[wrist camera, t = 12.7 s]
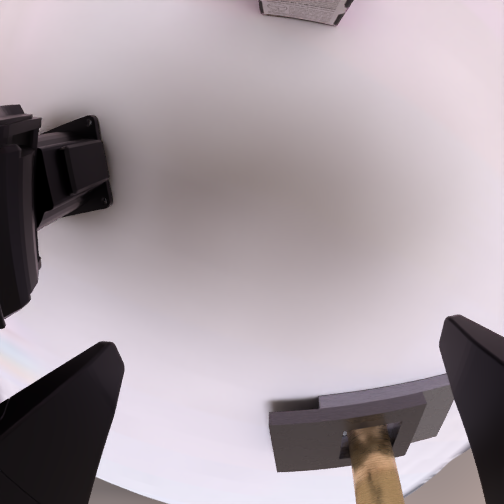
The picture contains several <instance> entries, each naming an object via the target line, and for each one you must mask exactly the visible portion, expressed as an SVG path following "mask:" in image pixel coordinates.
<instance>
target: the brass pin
mask: <svg viewBox="0 0 504 504" xmlns="http://www.w3.org/2000/svg"><path fill="white" fill-rule="evenodd" d="M347 438H348V444H349V451H350V458H351V465H352V473H353V480H354V488H355V497H356V504H404V499H403V494H402V489H401V484H400V480H399V475H398V471H397V466H396V462H395V458H394V453H393V449H392V445H391V441H390V437H389V433H388V429H387V426H386V424H385V425H380V426H374V427H369V428H362V429H356V430H349V431H347Z"/></svg>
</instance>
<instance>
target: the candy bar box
mask: <svg viewBox="0 0 504 504" xmlns="http://www.w3.org/2000/svg"><path fill="white" fill-rule="evenodd" d="M352 2H353V0H259V6H260V11H261V14H263V15H271V16H277V17H292V18H299V19H304V20H309V21H315V22H319V23H325V24H330V25H334V26H337V25H338V23H339V22H340V20H341V18H342V17H343V15H344V14H345V12H346V11H347V9H348V8H349V6H350V5H351V3H352Z"/></svg>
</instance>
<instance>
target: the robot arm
mask: <svg viewBox="0 0 504 504" xmlns="http://www.w3.org/2000/svg"><path fill="white" fill-rule="evenodd" d="M41 120H42V118H37V117H32V114H25V113H24V112H23V110H22V108H21V106H20V105H5V106H0V329H3V328H5V326H6V324H5V321H4V319H6V318H7V317H9V316H11V315H12V314H14V313H16V312H17V311H19V310H21V309H22V308H23V307H24V306H25V305H26V304H28V303H29V302H30V300H31V296H30V294H31V293H32V291H33V289H34V288H35V286H36V284H37V283H38V275H39V270H40V268H41V258H40V257H39V251H38V239H37V231H38V230H40V229H42V228H43V227H45V226H47V225H48V224H50V223H52V222H54V221H55V220H57V219H59V218H61V217H66V216H70V215H75V214H80V213H85V212H90V211H95V210H100V209H105V208H107V207H109V206H111V204H112V202H113V199H112V194H111V190H110V185H109V181H108V178H109V174H108V169H107V164H106V158H105V153H104V148H103V142H102V141H101V139H100V133H99V127H98V120H97V118H96V117H95V116H93V115H89V116H85V117H82V118H80V119H77V120H74V121H72V122H69V123H67V124H64V125H62V126H59V127H57V128H54V129H52V130H49V131H47V132H45V133H42V134H40V135H38V132H39V128H41ZM89 120H91V121H92V123H91V125H89ZM104 198H105V199H106V200H107V203H105V202H104ZM439 348H440V352H441V355H442V359H443V362H444V365H445V369H446V372H447V376H448V380H449V383H450V387H451V391H452V394H453V397H454V400H455V403H456V405H457V408H458V411H459V414H460V416H461V419H462V422H463V425H464V428H465V431H466V434H467V437H468V440H469V443H470V446H471V449H472V453H473V456H474V459H475V463H476V466H477V470H478V473H479V477H480V481H481V485H482V489H483V493H484V497H485V502H486V504H504V337H502V336H501V335H499V334H497V333H495V332H493V331H491V330H489V329H487V328H485V327H483V326H481V325H479V324H477V323H475V322H473V321H472V320H470V319H468V318H466V317H464V316H462V315H453V316H448V317H447V318H446V319H445V321H444V325H443V329H442V333H441V337H440V341H439ZM123 375H124V363H123V361H122V359H121V356H120V354H119V352H118V350H117V348H116V346H115V344H114V343H113V342H105V341H101V342H98V343H97V344H95V345H94V346H92V347H90V348H89V349H87V350H85V351H84V352H82V353H81V354H79V355H77V356H76V357H74V358H73V359H71V360H69V361H68V362H66V363H65V364H63V365H61V366H60V367H58V368H56V369H55V370H53V371H52V372H50V373H48V374H47V375H45V376H44V377H42V378H40V379H39V380H37V381H36V382H34V383H32V384H31V385H29V386H28V387H26V388H24V389H23V390H21V391H20V392H18V393H16V394H15V395H13V396H12V397H10V399H7V400H5V401H3V402H2V403H0V504H88V502H89V498H90V495H91V491H92V487H93V483H94V480H95V476H96V473H97V469H98V466H99V463H100V459H101V456H102V452H103V449H104V446H105V443H106V440H107V436H108V433H109V430H110V427H111V424H112V421H113V417H114V414H115V410H116V406H117V401H118V397H119V392H120V388H121V383H122V379H123Z"/></svg>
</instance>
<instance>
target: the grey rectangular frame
mask: <svg viewBox="0 0 504 504" xmlns="http://www.w3.org/2000/svg"><path fill="white" fill-rule="evenodd" d="M453 400H454V397H453V394H452V391H451V387H450V383H449V380H448V376H447V374H444V375H440V376H435V377H431V378H427V379H422V380H418V381H413V382H408V383H403V384H398V385H393V386H388V387H382V388H376V389H370V390H363V391H357V392H349V393H342V394H334V395H325V396H319V407H318V409H310V410H298V411H283V412H269V429H270V435H271V441H272V446H273V452H274V457H275V463H276V468H277V472H293V471H307V470H319V469H328V468H337V467H344V466H351V458H350V451H349V444H348V438H347V436H343V431H349V430H356V429H362V428H369V427H374V426H380V425H385V424H387V429H388V433H389V437H390V441H391V445H392V449H393V453H394V458H395V457H399V456H404V455H405V454H406V452H407V449H408V447H409V445H410V443H412V442H416V441H420V440H424V439H428V438H431V437H435V436H437V434H438V432H439V430H440V428H441V426H442V424H443V422H444V420H445V418H446V416H447V413H448V411H449V409H450V407H451V405H452V403H453Z"/></svg>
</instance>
